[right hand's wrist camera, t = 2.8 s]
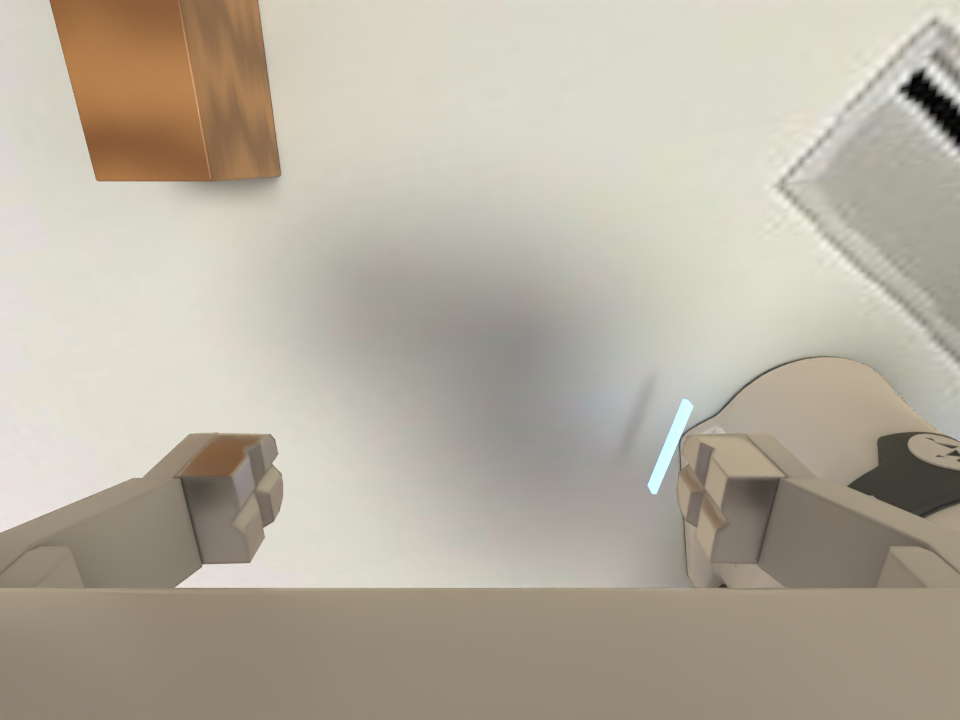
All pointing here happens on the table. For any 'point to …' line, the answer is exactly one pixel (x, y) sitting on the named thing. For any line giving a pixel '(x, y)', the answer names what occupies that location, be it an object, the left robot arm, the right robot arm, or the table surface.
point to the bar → (170, 88)
